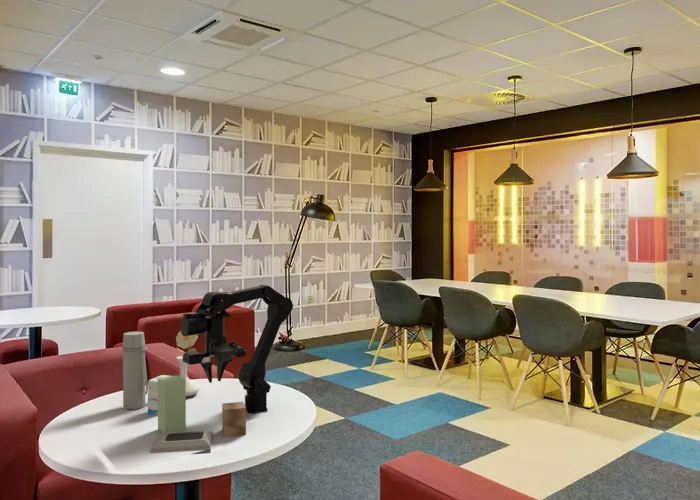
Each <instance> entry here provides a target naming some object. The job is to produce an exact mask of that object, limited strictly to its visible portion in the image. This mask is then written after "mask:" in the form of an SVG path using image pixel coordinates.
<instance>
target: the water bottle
mask: <svg viewBox="0 0 700 500" xmlns="http://www.w3.org/2000/svg"><path fill="white" fill-rule="evenodd" d="M121 347H122V348H121V349H122V389H123V390H122V392H123V393H122V398H123V400H122V405H123V406H122V407H123V408H124V409H126V410H138V409H141V408H143V407H145V406H146V395H148V382H149V381H148V373H147V364H146V363H147V362H146V350H148V349H149V347H148V346H147V345H146V339H145V332H143V331H128V332H124V333H123V337H122V346H121Z"/></svg>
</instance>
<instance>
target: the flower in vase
mask: <svg viewBox="0 0 700 500" xmlns="http://www.w3.org/2000/svg"><path fill="white" fill-rule="evenodd" d="M198 338H199V336H198V335H192V336H183V335H182V333H181V331H180V330H179V332H178V333H177V335H176V336H175V340H176V346H177V347H176V349H177V350H178V351H180V352H181V353H183V354H184V353H185V351H184V350H181V349H180V348H182V349H188V350H187V352H193V351H196V352H198V351H197V350H198V349H196V348H195V347H193V346H194V345H195V343H196V342H197V341H198V340H197V339H198ZM178 347H179V348H178ZM191 347H192V348H191ZM175 359H176V360H177V362H178V364H179V376H180V377H182V378H184V379H186V397H190V396H194V395H196V394H198V393H199V391H200V390H201V388H200V386H199V385H198V384H197V383H196V382H194V381H193V380H191V379H190V378H189V376H188V372H187V371H188V364H187V363H185V362H183V355H180V356H176V358H175Z"/></svg>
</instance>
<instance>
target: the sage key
mask: <svg viewBox="0 0 700 500" xmlns="http://www.w3.org/2000/svg"><path fill="white" fill-rule="evenodd" d="M169 376H170V377H163V378H158V415H157V430H158V431H160V432H161V434H163V433H166V432H185V431H187V422H186V421H187V419H186V418H187V416H186V415H187V412H186V411H187V407H186V406H187V400H186V398H187V396H186V379H184V378H182V377H180V375H179V374H178V375H169Z"/></svg>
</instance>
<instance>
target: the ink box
mask: <svg viewBox="0 0 700 500" xmlns="http://www.w3.org/2000/svg"><path fill="white" fill-rule="evenodd" d="M170 376H171V375H166V374H161V375H158V376H156V377H153V378H151V379H149V380H148V381H147V382H148V392H147V415H151V416H152V415H153V416H154V415H155V416H158V378H163V377H170Z"/></svg>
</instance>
